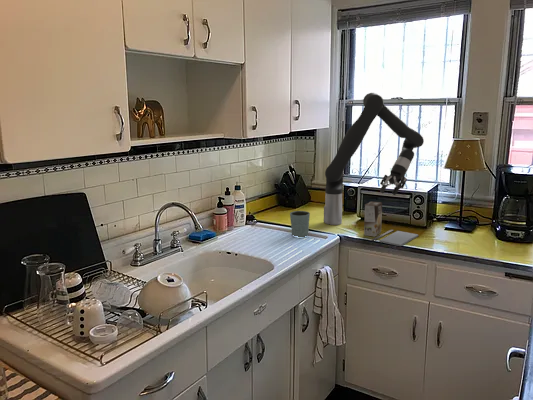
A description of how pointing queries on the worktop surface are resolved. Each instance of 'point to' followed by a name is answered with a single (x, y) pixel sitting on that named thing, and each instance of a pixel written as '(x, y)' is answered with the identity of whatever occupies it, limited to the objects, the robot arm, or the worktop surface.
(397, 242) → the mat
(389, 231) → the tan thin rod
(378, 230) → the coffee box
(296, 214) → the grey green cup
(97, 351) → the worktop surface
